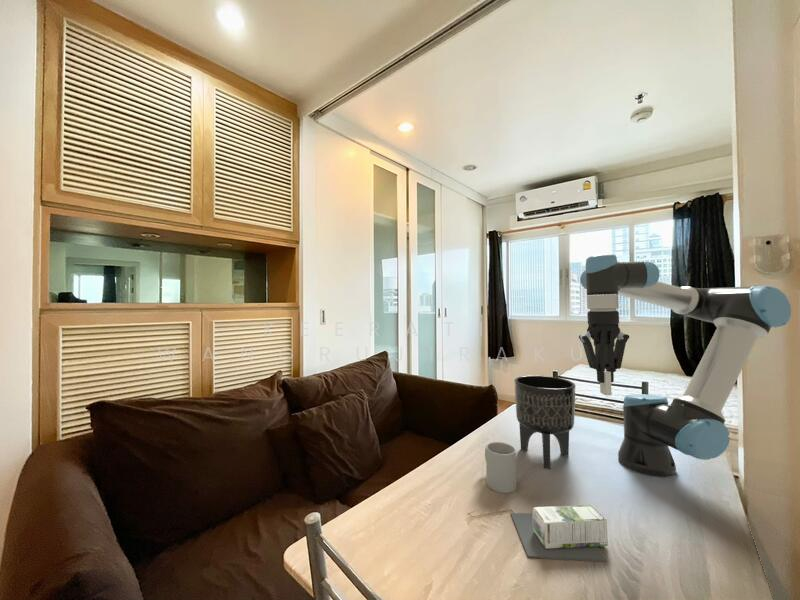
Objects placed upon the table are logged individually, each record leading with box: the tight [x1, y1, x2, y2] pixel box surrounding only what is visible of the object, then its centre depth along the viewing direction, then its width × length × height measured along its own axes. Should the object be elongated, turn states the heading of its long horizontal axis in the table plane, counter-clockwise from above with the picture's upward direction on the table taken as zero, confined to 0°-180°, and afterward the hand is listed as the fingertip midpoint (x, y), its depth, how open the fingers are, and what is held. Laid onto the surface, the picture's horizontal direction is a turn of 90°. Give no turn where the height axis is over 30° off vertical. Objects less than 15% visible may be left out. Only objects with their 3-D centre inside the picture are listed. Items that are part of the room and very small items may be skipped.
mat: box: [510, 512, 607, 563], centre depth 75 cm, size 16×14×1 cm
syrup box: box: [532, 504, 609, 548], centre depth 73 cm, size 6×6×14 cm
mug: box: [484, 441, 517, 494], centre depth 97 cm, size 12×8×11 cm
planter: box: [514, 375, 576, 470], centre depth 113 cm, size 20×20×26 cm
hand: (605, 393), depth 90 cm, fingers closed
